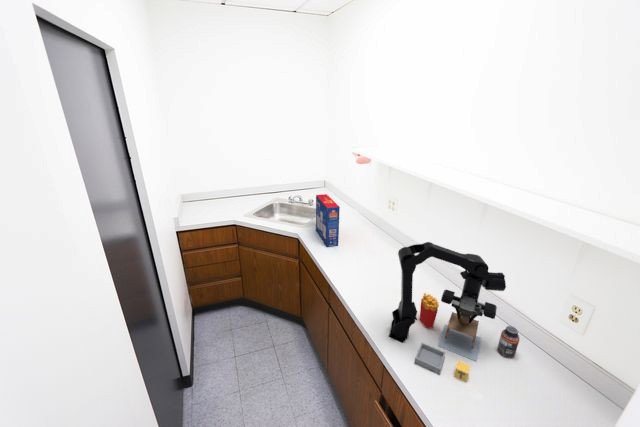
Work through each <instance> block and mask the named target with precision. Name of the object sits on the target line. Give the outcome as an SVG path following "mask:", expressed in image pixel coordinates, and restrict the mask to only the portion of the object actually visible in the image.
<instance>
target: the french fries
mask: <svg viewBox="0 0 640 427" xmlns="http://www.w3.org/2000/svg"><path fill="white" fill-rule="evenodd" d="M438 308H439V302H438V299H437V298H436V297H434V296H433V295H431V294H429V293H426V292H424V293H423V295H422V298H421V300H420V311H419V321H420V323H421V324H422V325H423V326H424V327H426V328H428V329H431V328H433V327H434V325H435V322H436V321H435V320H436V317H437V316H438V315H437V314H438V311H439V310H438Z"/></svg>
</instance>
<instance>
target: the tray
mask: <svg viewBox="0 0 640 427" xmlns="http://www.w3.org/2000/svg"><path fill="white" fill-rule="evenodd" d="M416 352H417V353H416V355H415V357H414V363H413V364H414V365H417V366H419V367H422V368H424V369H426V370H428V371H430V372H432V373H435V374H437V375H440V374H441V370H442V367H443V364H444V360H445V358H446V357H445V356H446V353H447V352H446V351H443V350H441V349H439V348H436V347H434V346H431V345H430V344H429V345H428V344H427V343H424V342H421V343H420V345H419V347H418V350H417V351H416Z"/></svg>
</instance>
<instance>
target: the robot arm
mask: <svg viewBox="0 0 640 427" xmlns="http://www.w3.org/2000/svg"><path fill="white" fill-rule="evenodd" d="M397 256H398V259H399V264H400V269H401V283H400V284H401V285H400V286H401V289H400V290H401V293H400V294H401V300H400V301H399V303H398V307H397V308H396V309H395V310H393V311H391V313H392V314H391V315H392V321H391V323H390V332H389V334H388V337H389V338H391V339H393V340H395V341H398V342H401V343H403V344H404V343H405V342H406V340H407V339H408V338H409V334H410V328H411V327H412V325H414V324H415V323H416V321H418V318H417V315H418V314H417V313H418V310H417V308H416V307H417V306H416V304H415V301H413V281H414V279H413V277H414V276H413V275H414V272H415V271H416V267H417V266H418V265H420V264H423V263H424V262H425V261H426V260H427V259H430V258H434V259H438V260H441V261H444V262H447V263H450V264H453V265H454V266H457V267H461V268H462V269H464V270H463V271H461V272H459V274H460V276H461V278H462V279H463V280H464V282H463V288H462V291H461V296H457V295H455V293H456V292H455V291H452V290H449V289H444V290H443V292H442V295H441V297H440V298H441V300H440V301H441V302H442V303H444V304H447V305H451V307H452V308H454V309H455V313H457V317H458V319H459V318H460V313H462V314H466V315H468V316H471V317H470V321H469V323H471V322H472V321H473V319H474V320H475V319H476V317H482V316H484V317H486V318H490V319H492V320H494V319H496V315H497V308H498V307H497V305H496V304H494V303H491V302H487V301H485V302H484V303H482V302H479V298H480V293H481V289H482V287H483V288H484V289H485V290H486V291H499V292H504V291H505V290H506V288H507V285H506V279H505V277H506V275H505V274H504V273H503V272H489V265H488V264H487V263H486V262H485V260H484V259H483V258H482V257H481V255H478V254H474V253H461V252H458V251H455V250H453V249H449V248H446V247H443V246H440V245H437V244H434V243H433V242H431V241H426V242H423V243H418V244H417V243H416V244H411V245H409V246H404V247H401V248H400V249H398V253H397Z"/></svg>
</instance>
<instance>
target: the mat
mask: <svg viewBox="0 0 640 427" xmlns="http://www.w3.org/2000/svg"><path fill="white" fill-rule="evenodd" d="M447 326H448V324H445V323H444V326H443V329H442V332H441V335H440V338H439V341H438V344H437V347H440V348H443V349H444V350H448V351H449V352H452V353H455V354H458V355H459V356H462V357H465V358H467V359H469V360H472V361H474V362H477V361H478V356H479V350H480V345H481V340H482V339H481V337H480V336H478V335H476V338H475V342H474V346H473V349H471V346H472V341H473V337H471V336H468V335H466V334H463V333H460V332H458V331H455V330H452V329H449V333H448V336H447V339H445V336H446V331H447Z"/></svg>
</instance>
